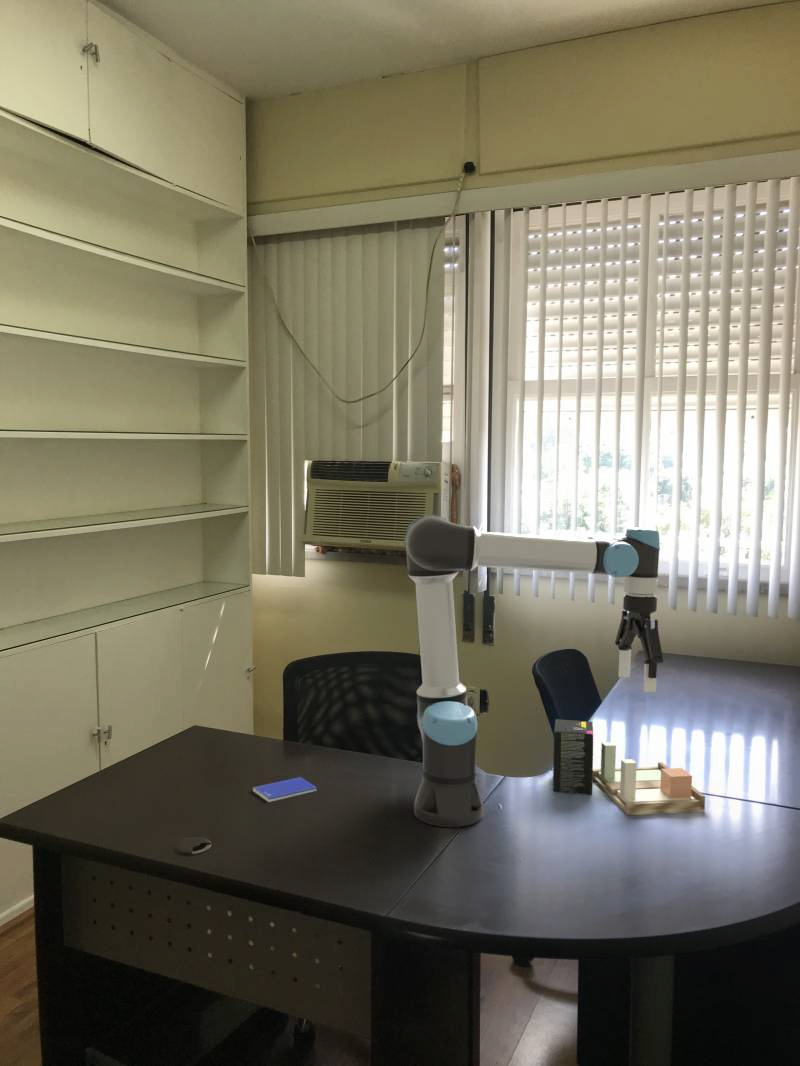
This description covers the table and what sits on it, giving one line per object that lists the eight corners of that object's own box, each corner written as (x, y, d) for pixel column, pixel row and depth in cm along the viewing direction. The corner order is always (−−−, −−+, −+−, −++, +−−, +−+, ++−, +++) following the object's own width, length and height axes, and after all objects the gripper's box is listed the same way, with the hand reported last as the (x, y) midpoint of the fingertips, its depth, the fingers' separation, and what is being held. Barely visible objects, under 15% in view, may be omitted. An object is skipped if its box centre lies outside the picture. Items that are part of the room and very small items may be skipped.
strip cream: (628, 806, 190) (629, 766, 189) (616, 794, 196) (617, 756, 196) (695, 803, 192) (696, 764, 191) (681, 791, 198) (682, 753, 198)
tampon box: (592, 795, 199) (594, 734, 198) (552, 792, 201) (553, 731, 200) (591, 779, 210) (593, 720, 209) (553, 775, 212) (554, 717, 210)
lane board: (627, 815, 188) (627, 799, 188) (591, 778, 210) (591, 764, 209) (704, 811, 190) (705, 796, 190) (661, 776, 212) (661, 762, 212)
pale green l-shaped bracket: (607, 786, 201) (608, 748, 201) (597, 775, 208) (598, 739, 207) (671, 783, 204) (672, 746, 203) (658, 773, 210) (660, 737, 210)
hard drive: (268, 797, 193) (316, 786, 200) (252, 786, 200) (299, 776, 207) (268, 804, 193) (316, 793, 200) (252, 793, 200) (299, 782, 207)
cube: (670, 798, 192) (670, 776, 191) (660, 790, 197) (661, 768, 196) (691, 797, 192) (691, 775, 192) (680, 789, 197) (681, 768, 197)
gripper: (681, 602, 188) (677, 697, 189) (632, 586, 212) (628, 670, 214) (649, 602, 186) (645, 698, 188) (603, 586, 211) (600, 671, 213)
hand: (636, 684), depth 201 cm, fingers open, 13 cm apart
